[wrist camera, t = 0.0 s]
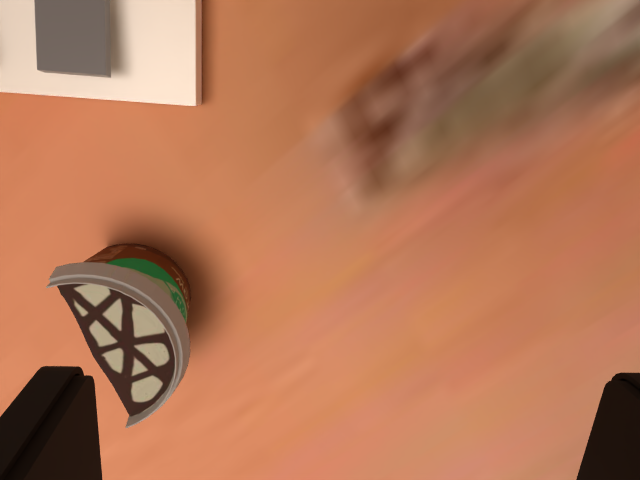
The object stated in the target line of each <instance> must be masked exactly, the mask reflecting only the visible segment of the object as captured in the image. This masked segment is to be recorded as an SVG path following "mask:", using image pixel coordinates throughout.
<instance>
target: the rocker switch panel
mask: <svg viewBox="0 0 640 480" xmlns="http://www.w3.org/2000/svg"><path fill="white" fill-rule="evenodd" d="M110 37H111V78H107V77H95V76H82V75H69V74H56V73H44V72H42V71H39V70H37V56H36V30H35V3H34V0H0V92H10V93H24V94H37V95H51V96H65V97H78V98H92V99H106V100H119V101H133V102H146V103H160V104H174V105H187V106H198V105H201V104H202V0H110Z"/></svg>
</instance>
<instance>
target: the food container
mask: <svg viewBox="0 0 640 480" xmlns="http://www.w3.org/2000/svg"><path fill="white" fill-rule="evenodd" d="M49 280H50V283H49V284H48V286H47V287H46V288H49V287H53V286H57V287H58V288H59V290H60V293H61V295H62V296H63V297H64V298H65V300H66V302H67V303H68V305H69V307H70V309H71V311H72V312H73V314H74V316H75V318H76V320H77V322H78V324H79V326H80V328H81V330H82V333H83V335H84V337H85V339H86V342H87V344H88V346H89V348H90V350H91V352H92V355H93V357H94V358H95V360H96V361H97V363H98V364H99V366H100V367H101V369H102V370H103V372H104V373H105V374H106V376H107V377H108V379H109V380H110V382H111V383H112V385H113V387H114V388H115V390H116V392H117V394H118V396H119V397H120V399H121V401H122V403H123V404H124V406H125V408H126V410H127V412H128V414H129V418H128V421H127V425H126V428H128V427H130V426H133V425H135V424H137V423H139V422H141V421H143V420H144V419H146V418H148V417H149V416H150V415H151V414H153V413H154V412H155V411H157V410H158V409H159V408H160V407H161V406H162V405H163V404H164V403H165V402H166V401H167V400H168V399H169V398H170V396H171V395H172V393H173V392H174V391H175V389H176V388H177V386H178V385H179V383H180V381H181V380H182V378H183V377H184V374H185V371H186V369H187V366H188V362H189V357H190V338H189V332H188V328H187V325H186V322H187V317H188V311H189V306H190V300H191V295H190V287H189V283H188V280H187V278H186V276H185V274H184V272H183V271H182V269H181V268H180V267H179V266H178V264H177V263H176V262H175V261H174V260H172V259H171V258H170V257H169V256H167V255H166V254H164V253H163V252H161V251H158V250H156V249H154V248H151V247H148V246H144V245H139V244H119V245H114V246H110V247H106V248H105V249H103V250H102V251H100V252H98V253H97V254H95V255H94V256H92V257H90V258H89V259H87V260H86V261H84V262H82V263H72V264H67V265H63V266H59V267H56V268H55V270H54V271H53V273H52V275H51V276H50V278H49Z"/></svg>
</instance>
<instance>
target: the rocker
mask: <svg viewBox="0 0 640 480" xmlns="http://www.w3.org/2000/svg"><path fill="white" fill-rule="evenodd" d="M34 3H35V30H36V56H37V70H39V71H42V72H44V73H56V74H69V75H82V76H95V77H107V78H111V37H110V0H34Z"/></svg>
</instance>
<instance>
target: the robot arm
mask: <svg viewBox="0 0 640 480" xmlns="http://www.w3.org/2000/svg"><path fill="white" fill-rule="evenodd" d="M0 480H102V470H101V458H100V445H99V433H98V421H97V408H96V396H95V384H94V379H93V377H92V376H84V374H83V371H82V368H80V367H69V366H44V367H41V368H40V369H39V370H38V371H37V372H36V374H35V375H34V376H33V377H32V378H31V380H30V381H29V382H28V383H27V385H26V386H25V387H24V388H23V390H22V391H21V392H20V393H19V395H18V396H17V397H16V398H15V400H14V401H13V402H12V403H11V404H10V406H9V407H8V408H7V409H6V411H5V412H4V413H3V414H2V416H1V417H0ZM576 480H640V373H618V374H616V375H615V376H614V377H613V378H612V380H611V381H609V382H608V383H607V384H606V385H605V387H604V390H603V394H602V397H601V400H600V403H599V407H598V410H597V413H596V417H595V420H594V423H593V427H592V430H591V433H590V436H589V440H588V443H587V446H586V450H585V453H584V456H583V460H582V463H581V466H580V469H579V473H578V476H577V479H576Z"/></svg>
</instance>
